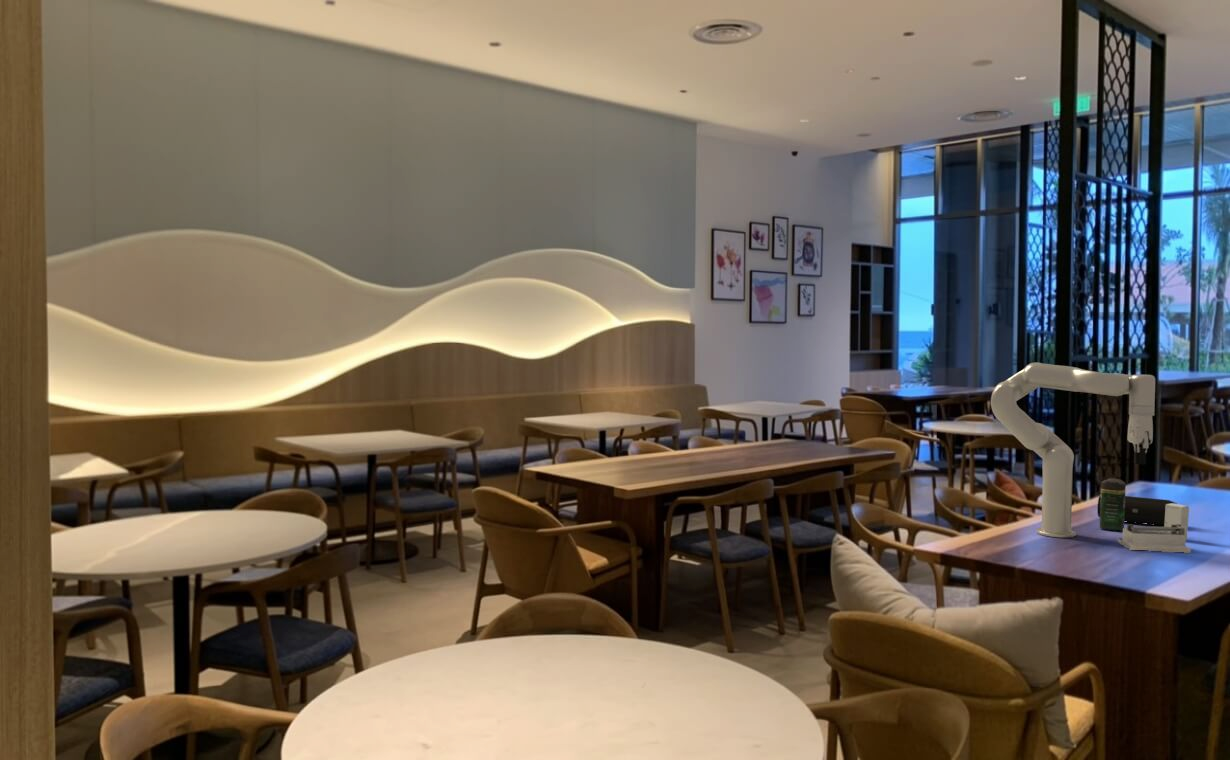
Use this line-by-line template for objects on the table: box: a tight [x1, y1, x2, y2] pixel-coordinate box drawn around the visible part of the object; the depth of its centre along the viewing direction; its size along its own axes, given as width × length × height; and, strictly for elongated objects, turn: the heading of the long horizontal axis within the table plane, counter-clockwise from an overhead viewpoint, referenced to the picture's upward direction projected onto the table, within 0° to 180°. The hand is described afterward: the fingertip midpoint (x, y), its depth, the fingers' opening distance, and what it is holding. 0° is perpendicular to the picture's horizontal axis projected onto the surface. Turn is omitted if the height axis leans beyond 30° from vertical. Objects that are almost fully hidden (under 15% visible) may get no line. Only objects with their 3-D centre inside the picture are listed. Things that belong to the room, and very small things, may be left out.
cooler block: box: [1117, 523, 1192, 554], centre depth 303 cm, size 12×18×8 cm, turn 79°
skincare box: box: [1163, 503, 1190, 541], centre depth 316 cm, size 6×4×12 cm
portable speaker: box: [1097, 495, 1178, 527], centre depth 345 cm, size 26×10×10 cm, turn 53°
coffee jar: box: [1099, 477, 1127, 531], centre depth 333 cm, size 10×8×19 cm
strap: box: [1129, 525, 1179, 531], centre depth 303 cm, size 3×15×1 cm, turn 79°
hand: (1140, 463), depth 310 cm, fingers closed
